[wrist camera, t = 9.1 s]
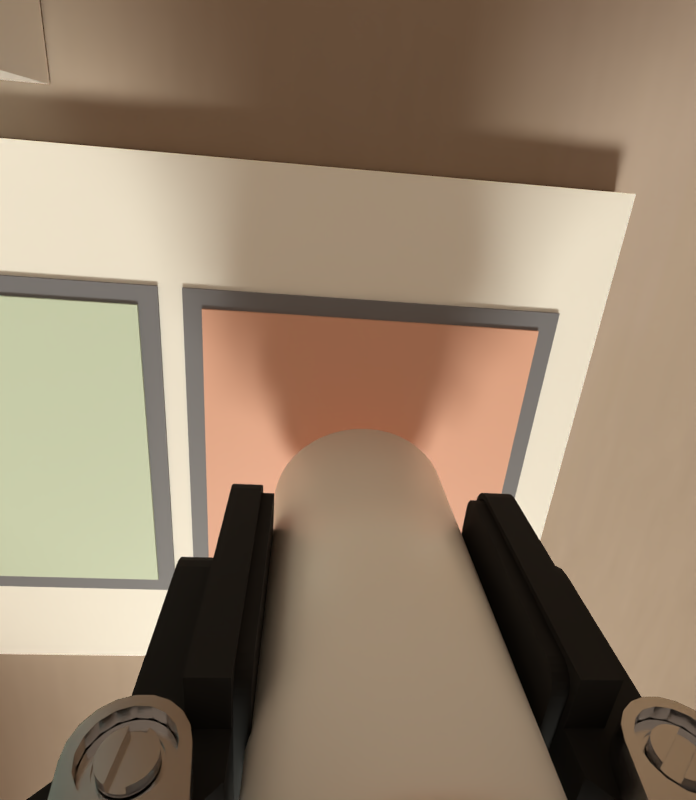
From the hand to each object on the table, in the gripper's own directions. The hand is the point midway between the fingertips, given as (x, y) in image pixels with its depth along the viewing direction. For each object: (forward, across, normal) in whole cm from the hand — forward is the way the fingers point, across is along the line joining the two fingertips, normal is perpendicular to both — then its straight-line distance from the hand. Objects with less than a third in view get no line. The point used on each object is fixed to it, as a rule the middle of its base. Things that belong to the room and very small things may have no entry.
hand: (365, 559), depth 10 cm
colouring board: (+4, +4, 0) cm, 6 cm away
